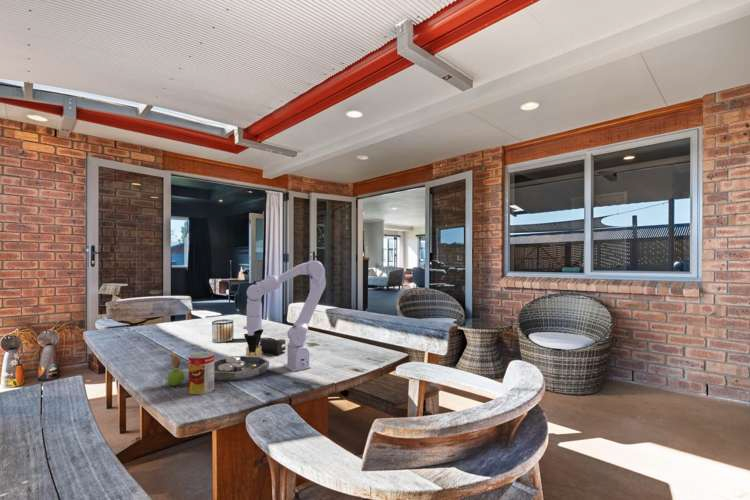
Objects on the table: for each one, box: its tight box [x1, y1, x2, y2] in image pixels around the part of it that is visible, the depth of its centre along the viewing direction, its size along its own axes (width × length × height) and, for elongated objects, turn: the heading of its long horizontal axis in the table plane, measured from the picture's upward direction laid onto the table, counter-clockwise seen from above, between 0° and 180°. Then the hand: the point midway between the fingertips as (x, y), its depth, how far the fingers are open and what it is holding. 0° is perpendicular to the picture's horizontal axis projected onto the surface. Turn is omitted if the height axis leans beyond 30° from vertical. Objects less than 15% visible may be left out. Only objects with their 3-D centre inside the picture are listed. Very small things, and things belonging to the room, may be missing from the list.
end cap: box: [259, 337, 287, 356], centre depth 168 cm, size 10×7×7 cm
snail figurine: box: [166, 348, 186, 387], centre depth 127 cm, size 5×6×12 cm
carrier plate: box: [214, 355, 270, 382], centre depth 142 cm, size 22×22×4 cm
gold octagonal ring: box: [245, 346, 262, 357], centre depth 142 cm, size 5×5×3 cm
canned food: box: [187, 350, 215, 395], centre depth 122 cm, size 8×8×12 cm
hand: (253, 350), depth 142 cm, fingers closed on gold octagonal ring, 5 cm apart
